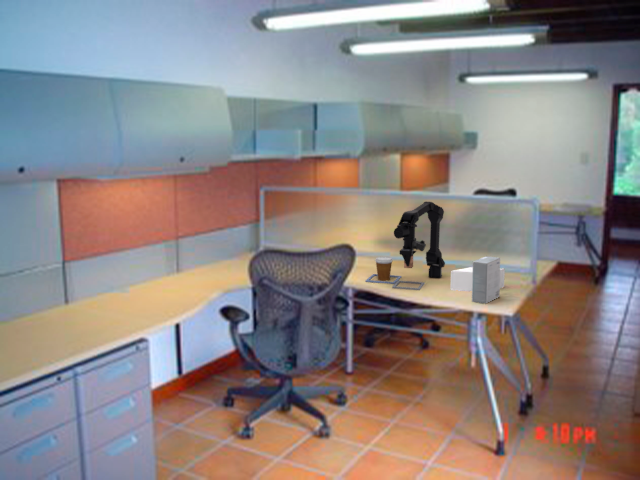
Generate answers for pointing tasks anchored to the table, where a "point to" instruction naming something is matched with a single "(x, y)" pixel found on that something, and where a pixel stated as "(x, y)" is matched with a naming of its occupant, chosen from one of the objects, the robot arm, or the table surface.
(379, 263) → the disposable coffee cup
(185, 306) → the table surface
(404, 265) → the block
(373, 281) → the frame cup
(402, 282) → the frame empty
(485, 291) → the hard drive box
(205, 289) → the table surface
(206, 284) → the table surface
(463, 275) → the white box
